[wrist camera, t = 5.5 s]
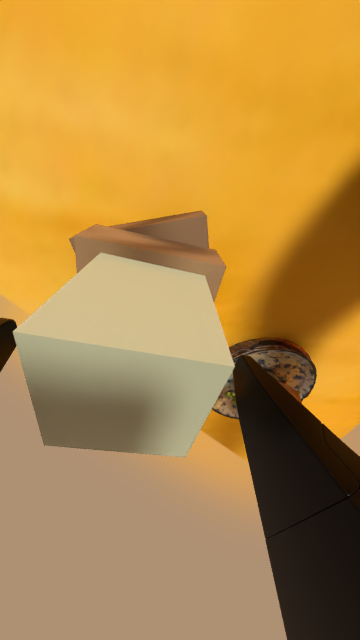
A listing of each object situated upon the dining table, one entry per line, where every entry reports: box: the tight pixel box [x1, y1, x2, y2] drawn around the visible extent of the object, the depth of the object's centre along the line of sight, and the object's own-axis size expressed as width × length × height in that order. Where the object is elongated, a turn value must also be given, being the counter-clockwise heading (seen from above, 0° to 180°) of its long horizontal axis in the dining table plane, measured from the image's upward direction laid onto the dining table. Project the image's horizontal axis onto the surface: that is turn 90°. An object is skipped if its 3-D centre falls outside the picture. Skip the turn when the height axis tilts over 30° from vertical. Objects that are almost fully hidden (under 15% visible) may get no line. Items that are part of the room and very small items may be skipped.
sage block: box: [13, 253, 235, 457], centre depth 8 cm, size 5×5×6 cm
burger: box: [212, 338, 317, 419], centre depth 20 cm, size 12×12×8 cm
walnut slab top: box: [74, 224, 226, 302], centre depth 12 cm, size 7×7×3 cm
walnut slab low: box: [69, 211, 209, 254], centre depth 15 cm, size 8×8×3 cm
